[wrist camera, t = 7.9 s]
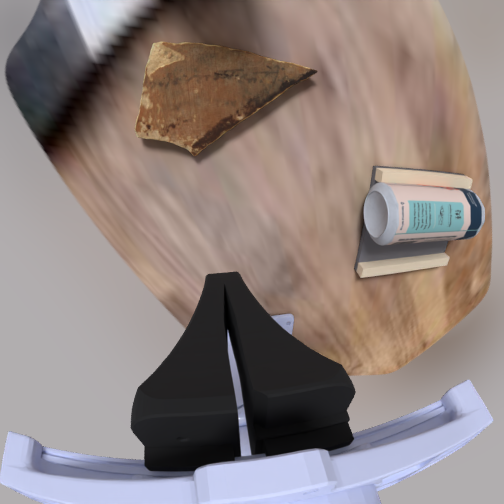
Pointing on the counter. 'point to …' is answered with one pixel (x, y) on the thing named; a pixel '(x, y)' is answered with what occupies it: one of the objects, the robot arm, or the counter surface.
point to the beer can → (421, 213)
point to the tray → (412, 254)
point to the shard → (207, 91)
